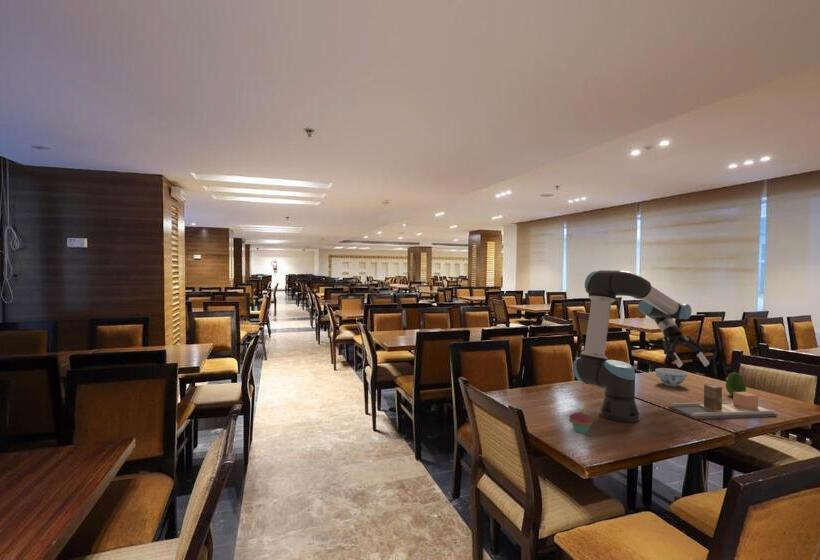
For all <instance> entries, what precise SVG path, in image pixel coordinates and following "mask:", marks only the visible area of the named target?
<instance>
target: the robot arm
mask: <svg viewBox="0 0 820 560" xmlns="http://www.w3.org/2000/svg"><path fill="white" fill-rule="evenodd" d="M584 289H585V292H586V293H587V294H588V298H589V299H590V307H589V315H588V323H587V329H586V330H587V331H586V336H585V337H586V338H585V343H584V350H583V351H582V352H580V354H579V356H578V357H576V358H575V360H574V361H573V362H572V372H573V375H574V376H575V379H576V380H577V381H579V382H581V383H583V384H585V385H590V386H594V387H598V388H601V389H604V396H603V400H602V403H601V405H600V408H599V414H600V416H602V417H603V418H605V419H608V420H612V421H615V422H622V423H634V422H635V423H636V422H639V420H640V418H641V417H640V412H639V408H638V405H637V403H636V371H635V368H634V367H633V365H631V364H630V363H628V362H625V361H621V360H616V359H608V356H606V354H605V351H606V347H607V346H606V344H607V339H608V338H607V337H608V331H609V322H610V316H611V315H610V314H611V307H612V303H614V302H615V301H616V298H617V296H619V297H621V296H622V297H632V298H634V299H636V300H640V302H638V306H637V309H638V311H639V313H641V314H643V316H647V317H649V318H650V319H652V320H653V321H654V322H655V324H656V325H657V326H658V328H659V330H660V332H661V333H662V335H663V337H662V338H661V341H662V344H663V346H662V347H663V354H664V355H667V357H670V358H671V360H672V361H674V363H675V364H676V366H677V367H678V368H681V367H682V366H683V365H684V364H683V362H682V360H681V359H680V357H679V356H678V355H677V353H676V352H674V351H675V348H676V347H679V346H680V347H684V348H686V349H688V350H691V351H692V352H693V353H695V354H696V356H697V357H698V358H699V360H700V362H701V363H702V365H703V366H704V367H708V365H710V362H709V360H708V359H707V356H706V355H705V354H704V353H705V351H706V349H705V348H704V347H702V346H701V344H699V343H698V342H696V340H694V339H692V338H691V336H690V335H687V336H683V335H682V331H681V328H680V327H679V326H678V325H677V323H676V322H675V321H674V320H688V319H690V317H691V316H692V307H691V306H690V304H688V303H684V302H683V303H680V302H677V301H676V300H675V299H673V298H671V297H670V296H668V295H666V294H665V293H664V292H662V291H661V290H659V289H657V288H655V287H654V286H652V284H651V282H650V281H649V280H648V279H645V278H644V277H642V276H640V275H639V274H636V273H635V272H631V271H627V270H619V269H617V270H607V269H606V270H602V269H601V270H594V271H592V272H590V273H589V274H588V275H587V276H586V278H585V281H584ZM669 343H670V345H669Z"/></svg>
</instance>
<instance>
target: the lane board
mask: <svg viewBox="0 0 820 560" xmlns="http://www.w3.org/2000/svg"><path fill="white" fill-rule="evenodd" d="M669 404H670V405H668V408H669V409H671V410H673V411H676V412H678V413H680V414H683V415H684V416H687V417H689V418H692V419H694V420H715V419H717V418H720V419H743V418H746V417H748V418H765V417H766V418H768V417H767V416H776V417H777V415H778V414H777V413H776V412H775V410H774V409H768V410H764V411H735V412H711V411H709V410H706V409H704V408H701V407H699V406H698V405H704V401H703V402H681V403H679V402H678V403H677V402H675V403H672V402H671V403H669ZM722 404H733V401H722Z"/></svg>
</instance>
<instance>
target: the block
mask: <svg viewBox="0 0 820 560" xmlns="http://www.w3.org/2000/svg"><path fill="white" fill-rule="evenodd" d="M732 396H733V397H732V400H733V401H732V402H733V405H734V406H737V407H740V408H743V409H758V406H759V395H758V394H754V393H752V392H751V393H750V392H747V391H745V392H733V395H732Z"/></svg>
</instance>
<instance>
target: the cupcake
mask: <svg viewBox="0 0 820 560" xmlns="http://www.w3.org/2000/svg"><path fill="white" fill-rule="evenodd" d="M587 404H588V403H587V402H584V405H583V411H582V412H581V411H580V412H579V411H578V412H574V413H571V414H570V415H569V418H568V421H569V422H570V423H571V424H572V426H573V430H574V432H576V433H579V434H587V433H588V431H589V429H590V427H591V426H592V425H593V423H594V422H593V418H592V416H590V415H589V414H588V413H586V410H587V409H586V408H587Z"/></svg>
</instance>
